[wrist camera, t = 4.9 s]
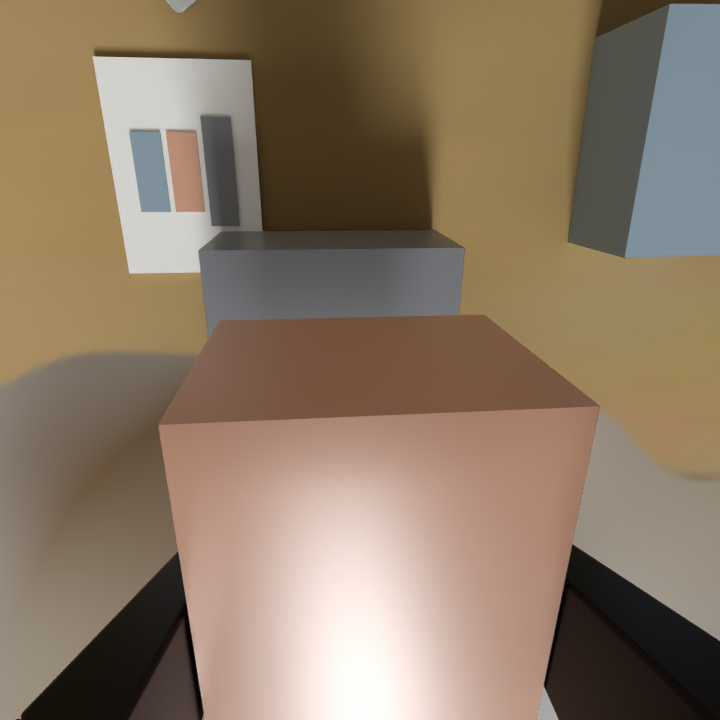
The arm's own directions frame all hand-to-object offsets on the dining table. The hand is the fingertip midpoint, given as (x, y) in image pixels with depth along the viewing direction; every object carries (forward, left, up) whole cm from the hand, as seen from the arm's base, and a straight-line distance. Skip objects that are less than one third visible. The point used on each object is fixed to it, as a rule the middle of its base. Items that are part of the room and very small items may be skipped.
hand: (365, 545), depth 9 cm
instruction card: (+5, -6, -12) cm, 15 cm away
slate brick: (-12, -7, -13) cm, 19 cm away
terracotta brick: (0, 0, -2) cm, 2 cm away
